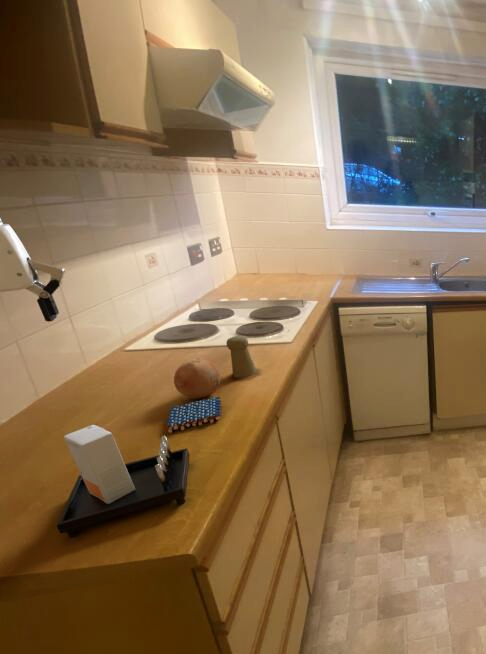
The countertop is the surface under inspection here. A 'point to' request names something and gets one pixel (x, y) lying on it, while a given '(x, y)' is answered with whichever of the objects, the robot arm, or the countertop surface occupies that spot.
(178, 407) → the woven mat
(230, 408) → the countertop surface
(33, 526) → the countertop surface
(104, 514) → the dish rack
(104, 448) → the cosmetic box
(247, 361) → the pepper mill
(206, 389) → the onion
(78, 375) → the countertop surface
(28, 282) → the robot arm
